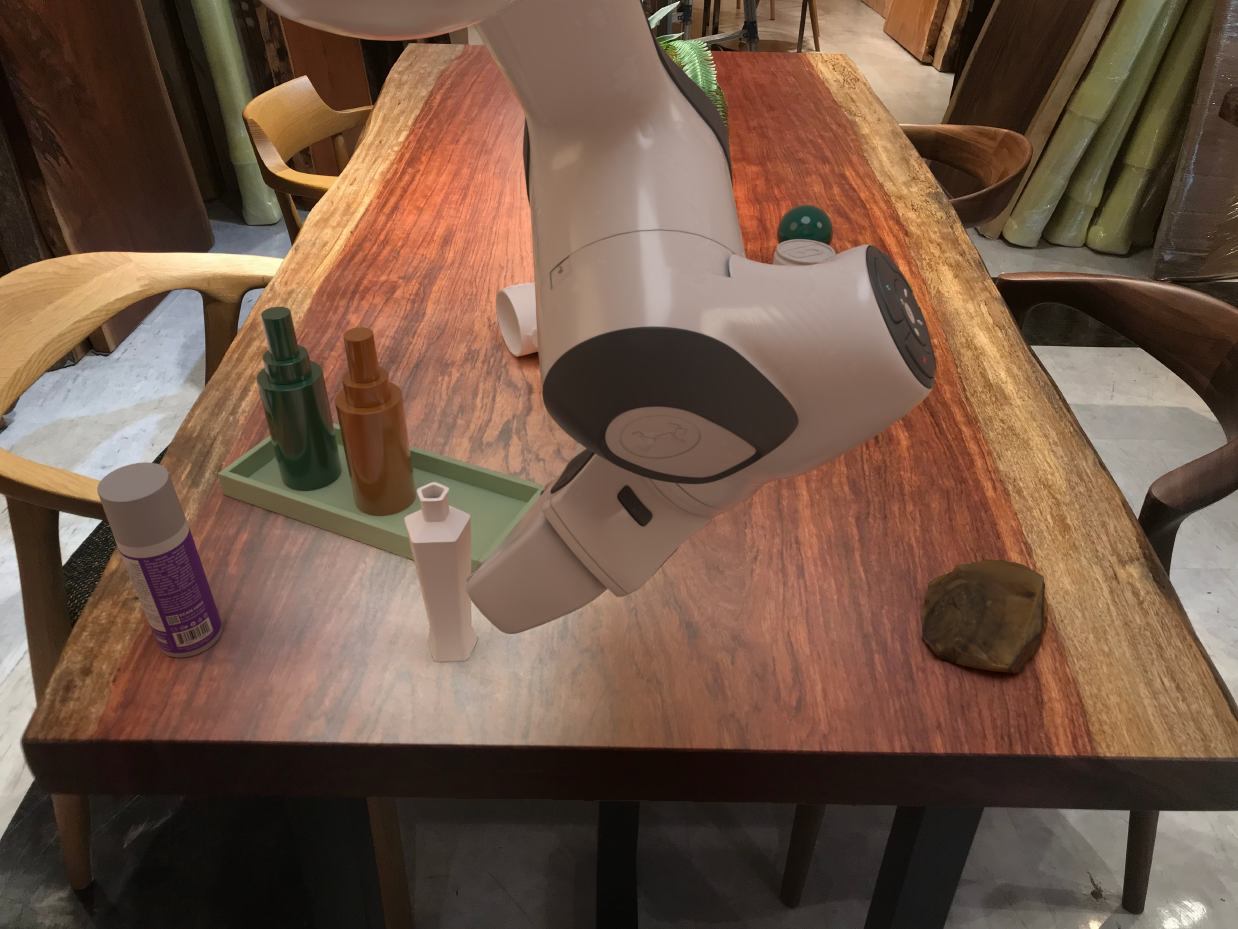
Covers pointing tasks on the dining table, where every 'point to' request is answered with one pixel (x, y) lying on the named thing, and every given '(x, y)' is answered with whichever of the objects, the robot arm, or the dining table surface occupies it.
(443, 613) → the perfume bottle
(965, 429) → the dining table surface
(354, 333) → the bottle
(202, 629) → the container
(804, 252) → the beverage can
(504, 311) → the white hollow cylinder
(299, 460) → the bottle
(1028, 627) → the decorative stone
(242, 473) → the tray
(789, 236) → the sphere
